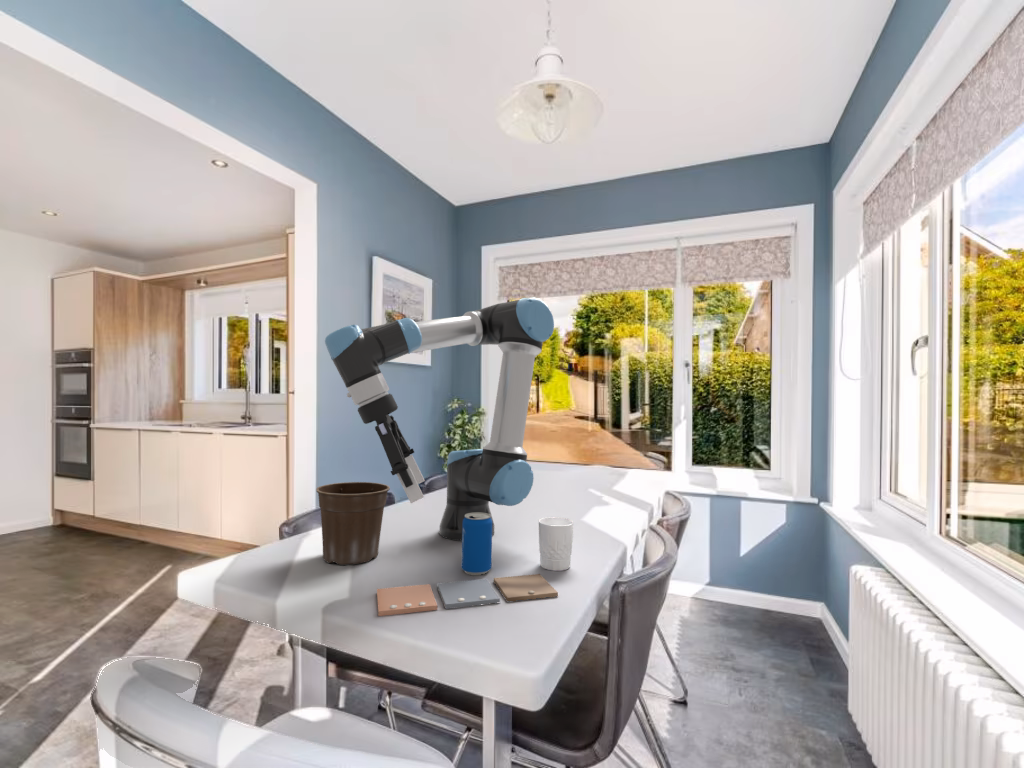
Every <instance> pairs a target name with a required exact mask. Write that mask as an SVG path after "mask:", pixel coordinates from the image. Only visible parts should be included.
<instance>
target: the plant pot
mask: <svg viewBox="0 0 1024 768" xmlns="http://www.w3.org/2000/svg"><path fill="white" fill-rule="evenodd" d="M390 488H391V486H390V485H388V484H384V483H380V482H373V481H372V482H371V481H368V482H367V481H346V482H334V483H328V484H324V485H320V486H318V487H317V488H316V489H315V491H316V493H318V507H319V508H320V517H321V518H320V519H321V538H322V540H321V541H322V558H323V561H325V562H326V563H329V564H332V563H336V564H337V565H346V566H347V565H349V566H350V565H359V564H362V563H367V562H369V561H371V560H372V559H376V558H377V557H378V555H379V549H380V548H379V546H380V539H381V531H382V524H383V516H384V510H385V506H386V505H387V497H388V492H389V491H390Z"/></svg>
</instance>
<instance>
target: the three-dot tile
mask: <svg viewBox="0 0 1024 768" xmlns="http://www.w3.org/2000/svg"><path fill="white" fill-rule="evenodd" d="M435 598H436V597H435V595H434V592H433V590H432V585H431V584H429V583H427V584H416V585H406V586H396V587H395V586H394V587H386V588H377V589H376V602H377V613H378V614H377V616H378V617H383V616H392V615H393V616H394V615H402V614H411V613H420V612H428V611H429V612H430V611H437V610H438V603H437V601H436V599H435Z"/></svg>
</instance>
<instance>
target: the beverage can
mask: <svg viewBox="0 0 1024 768" xmlns="http://www.w3.org/2000/svg"><path fill="white" fill-rule="evenodd" d="M492 550H493V536H492V519H491V518H490V514H487V513H481V512H474V513H468V514H465V518H464V519H463V523H462V540H461V570H462V571H464V573H466V574H467V575H470V574H471V576H482V575H481V574H483V575H485V573H486V574H487V573H488V572H489V571H491V569H492V558H493V556H492V555H493V552H492Z"/></svg>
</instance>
